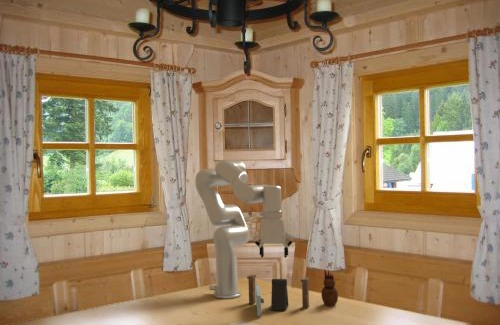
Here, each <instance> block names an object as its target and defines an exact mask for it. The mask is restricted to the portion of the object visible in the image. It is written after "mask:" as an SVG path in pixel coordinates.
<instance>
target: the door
mask: <svg viewBox="0 0 500 325" xmlns="http://www.w3.org/2000/svg"><path fill="white" fill-rule="evenodd" d="M255 294H256V303H255V304H256V314H257V317H262V304H264V303H265V298H262V295H261V289H260V284H255Z"/></svg>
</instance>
